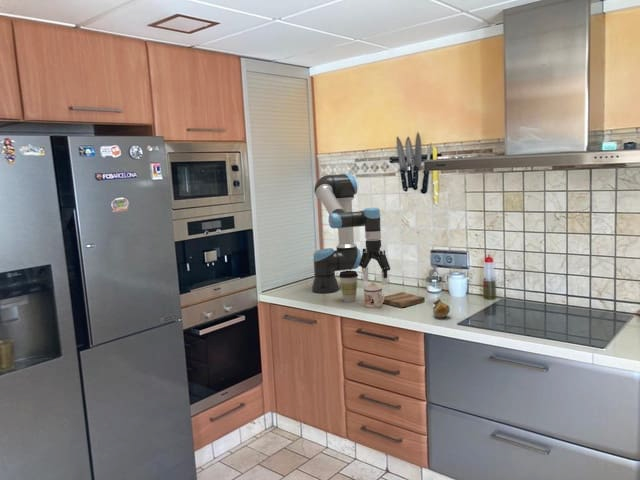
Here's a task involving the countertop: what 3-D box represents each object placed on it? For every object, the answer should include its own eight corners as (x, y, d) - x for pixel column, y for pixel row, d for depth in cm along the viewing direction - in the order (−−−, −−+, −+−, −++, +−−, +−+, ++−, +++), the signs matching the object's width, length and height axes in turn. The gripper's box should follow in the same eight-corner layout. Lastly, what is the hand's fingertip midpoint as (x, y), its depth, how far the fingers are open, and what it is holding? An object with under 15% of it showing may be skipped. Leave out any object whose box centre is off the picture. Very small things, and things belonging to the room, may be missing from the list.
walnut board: (379, 302, 266) (379, 297, 266) (402, 296, 275) (401, 292, 275) (401, 308, 253) (401, 303, 253) (424, 302, 262) (424, 297, 262)
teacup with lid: (360, 306, 261) (359, 283, 260) (373, 302, 267) (372, 279, 265) (377, 310, 252) (376, 286, 250) (390, 306, 258) (390, 283, 256)
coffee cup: (344, 304, 267) (343, 275, 265) (337, 299, 276) (335, 271, 274) (362, 301, 270) (361, 272, 268) (354, 297, 279) (352, 269, 277)
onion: (431, 319, 233) (431, 302, 232) (433, 314, 241) (432, 297, 239) (449, 320, 231) (449, 302, 230) (450, 315, 239) (449, 297, 237)
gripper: (351, 238, 263) (352, 280, 265) (385, 242, 243) (386, 287, 245) (362, 237, 267) (364, 278, 270) (396, 240, 247) (398, 284, 250)
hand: (375, 282), depth 257 cm, fingers open, 13 cm apart
